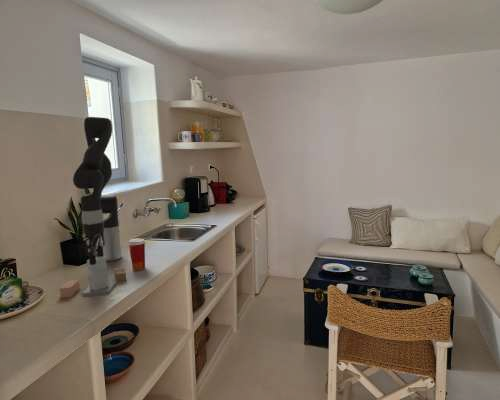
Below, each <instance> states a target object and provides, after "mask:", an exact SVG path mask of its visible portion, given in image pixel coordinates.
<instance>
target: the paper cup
mask: <svg viewBox="0 0 500 400" xmlns="http://www.w3.org/2000/svg"><path fill="white" fill-rule="evenodd" d="M145 243H146V241H145V239H144V238H139V237H138V238H133V239H130V240H128V244H127V245H128V246H129V247H128V248H129V255H130V260H131V261H130V262H131V266H132V267H131V268H132V270H133V271H134V272H139V271H144V270H146V252H145V251H146V248H145V247H146V244H145Z"/></svg>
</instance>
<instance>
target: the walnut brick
mask: <svg viewBox="0 0 500 400" xmlns="http://www.w3.org/2000/svg"><path fill="white" fill-rule="evenodd" d="M113 271H114V278H115V279H114V280H115V282H116V284H118V283H124V282H127V272H126V270H125V267H116V268H114V269H113Z"/></svg>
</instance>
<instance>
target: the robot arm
mask: <svg viewBox="0 0 500 400" xmlns="http://www.w3.org/2000/svg"><path fill="white" fill-rule="evenodd" d="M83 121H84V122H83V128H84V134H85V139H86V145H87V148H86V150H85V152H84V154H83V158H82V162H81V163H80V165H79V166H78V168H76V170H75V171H74V174H73V177H72V182H73V185H74V186H75V187H76V188H77V189H80V190H86V189H93V190H92V192H91V193H88V194H84V195H82V196H81V198H80V205H81V224H82V230H83V231H82V232H83V234H84V235H87V236H88V237H87V239H85V240H84V253H85V256H88V260H89V262H90V265H95V264H96V258H97V257H104V258H106V262H107V261H108V262H110V261H117V260H120V259H121V258H122V257H123V255H122V244H121V234H120V225H119V224H120V222H119V221H120V220H119V209H118V208H119V206H118V198H117V196H116V195H114V194H111V195H110V194H109V195H102V193H103V191H104V189H105V187H106V186H107V184H108V183H109V181H110V180H111V178H112V175H113V171H112V170H113V169H112V163H111V160H110V159H109V156H107V154H106V153H105V152H106V149H107V147H108V145H109V143H110V140H111V138H112V136H113V135H112V134H113V123H112V120H111V119H110V118H107V117H99V116H87V117H85V119H84V120H83ZM96 139H97V140H96ZM104 214H110V215H109V216H108V217H107V218H105V219H104ZM96 253H97V257H96Z"/></svg>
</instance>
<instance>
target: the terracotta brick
mask: <svg viewBox="0 0 500 400" xmlns="http://www.w3.org/2000/svg"><path fill="white" fill-rule="evenodd" d="M80 289H81V287H80V280H79V279H71V280H68V281H66V282H65V283H64V284H63V285H61V286H60V287H59V294H60V295H59V296H60V298H61V299H62V298H72V297H73V296H74V295H75V294H76V293H77V292H78V291H79V290H80Z"/></svg>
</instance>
